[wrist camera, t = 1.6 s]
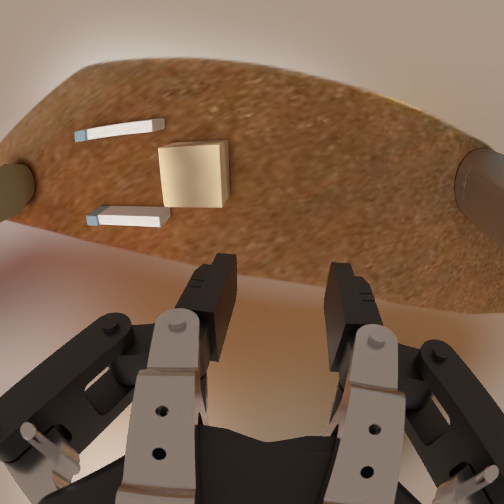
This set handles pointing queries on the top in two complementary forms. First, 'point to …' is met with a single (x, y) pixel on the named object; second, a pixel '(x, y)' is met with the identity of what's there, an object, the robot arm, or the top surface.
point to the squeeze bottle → (14, 189)
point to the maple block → (195, 173)
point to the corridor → (126, 213)
